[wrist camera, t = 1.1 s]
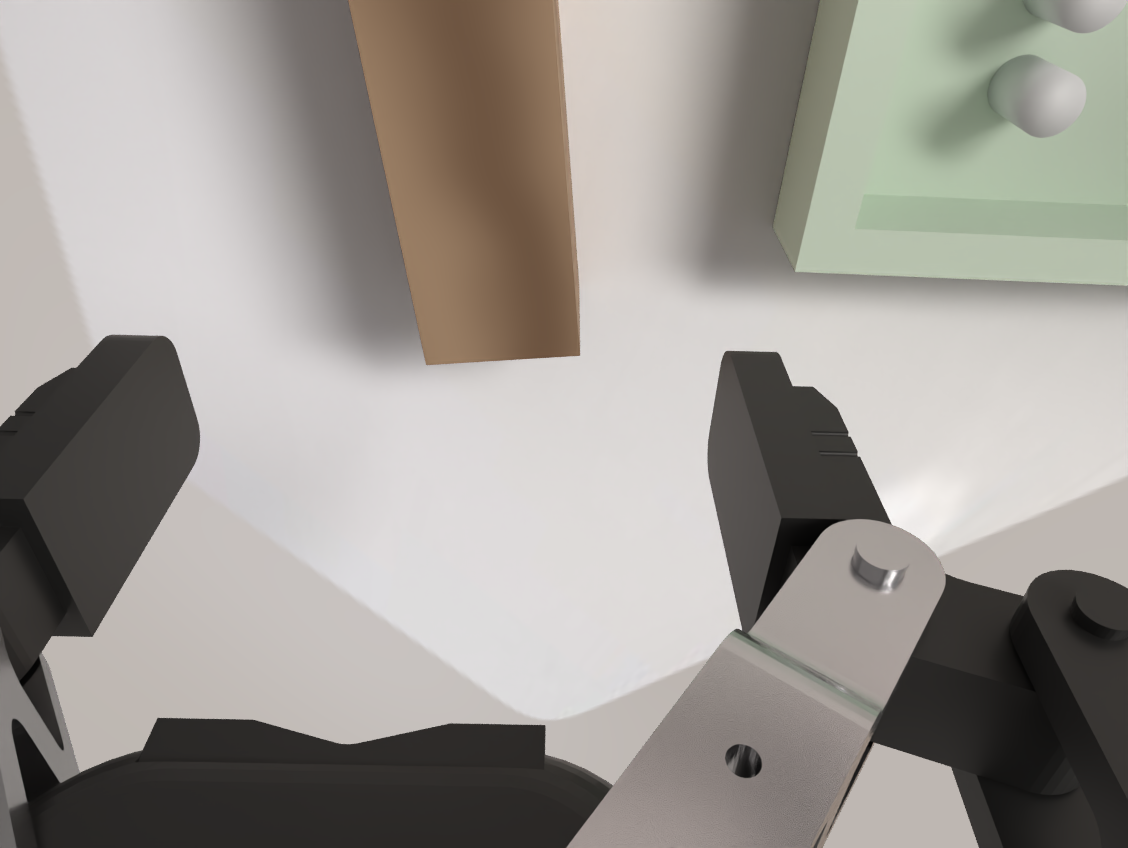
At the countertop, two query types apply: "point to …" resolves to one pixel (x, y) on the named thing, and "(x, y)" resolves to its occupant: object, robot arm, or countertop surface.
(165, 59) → the countertop surface
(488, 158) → the walnut plank
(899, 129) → the pale green tray
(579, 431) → the countertop surface
